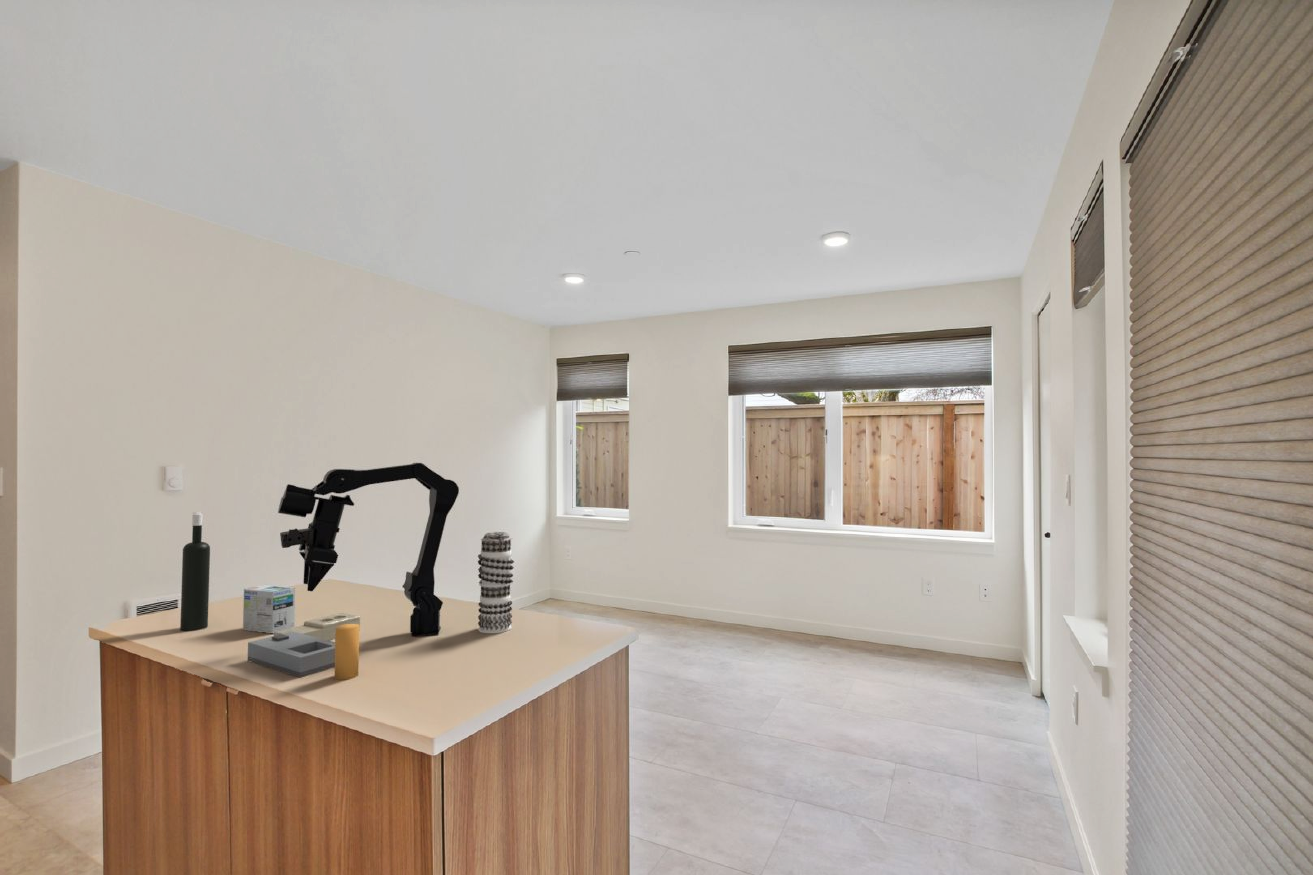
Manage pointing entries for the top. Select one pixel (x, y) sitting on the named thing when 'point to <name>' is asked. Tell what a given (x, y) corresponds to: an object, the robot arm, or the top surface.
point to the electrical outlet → (323, 626)
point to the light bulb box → (269, 608)
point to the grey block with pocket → (293, 653)
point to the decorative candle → (495, 583)
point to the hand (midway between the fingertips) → (307, 587)
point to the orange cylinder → (346, 651)
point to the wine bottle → (195, 579)
